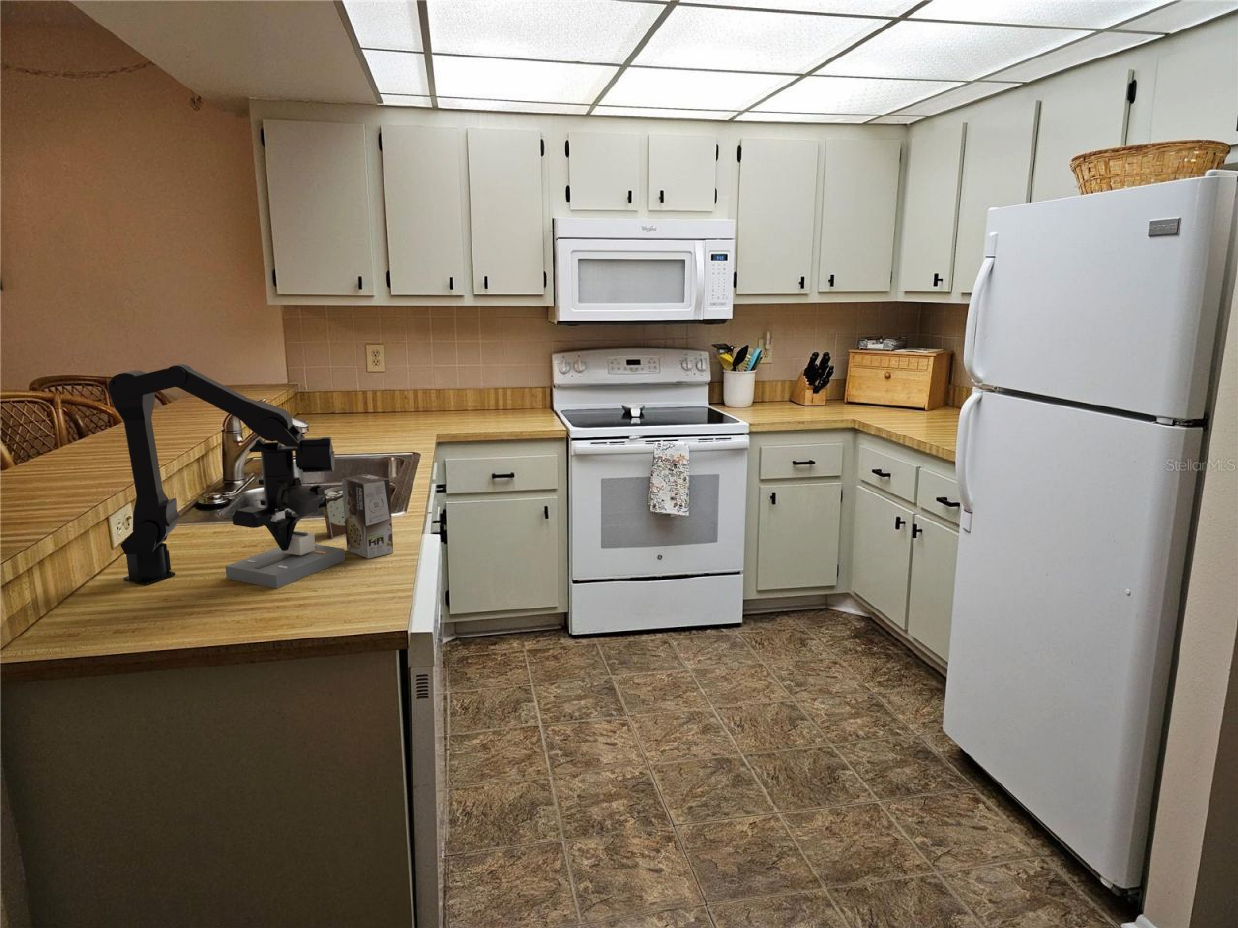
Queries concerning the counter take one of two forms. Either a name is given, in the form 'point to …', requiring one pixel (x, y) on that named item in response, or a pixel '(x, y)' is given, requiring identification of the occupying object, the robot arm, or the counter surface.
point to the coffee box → (367, 515)
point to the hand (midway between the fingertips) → (284, 550)
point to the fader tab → (301, 543)
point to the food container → (334, 513)
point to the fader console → (283, 566)
